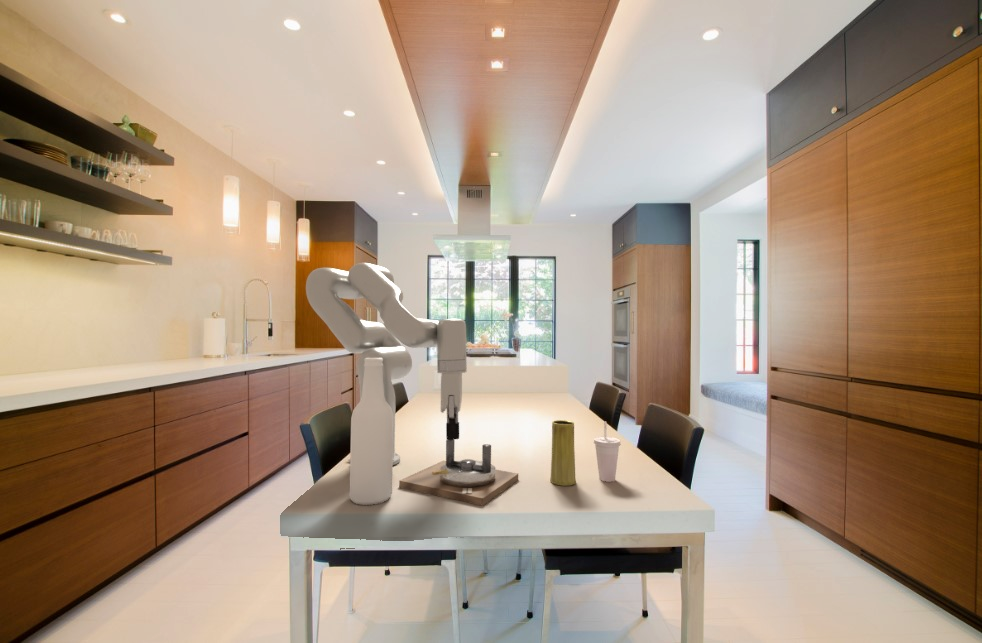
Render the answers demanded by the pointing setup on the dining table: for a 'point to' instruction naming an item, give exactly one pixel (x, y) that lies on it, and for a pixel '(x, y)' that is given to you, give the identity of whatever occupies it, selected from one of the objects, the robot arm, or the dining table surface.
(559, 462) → the vase
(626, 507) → the dining table surface
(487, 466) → the dial
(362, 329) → the robot arm
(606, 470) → the smoothie
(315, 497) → the dining table surface
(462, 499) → the stand board
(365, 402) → the alcohol
